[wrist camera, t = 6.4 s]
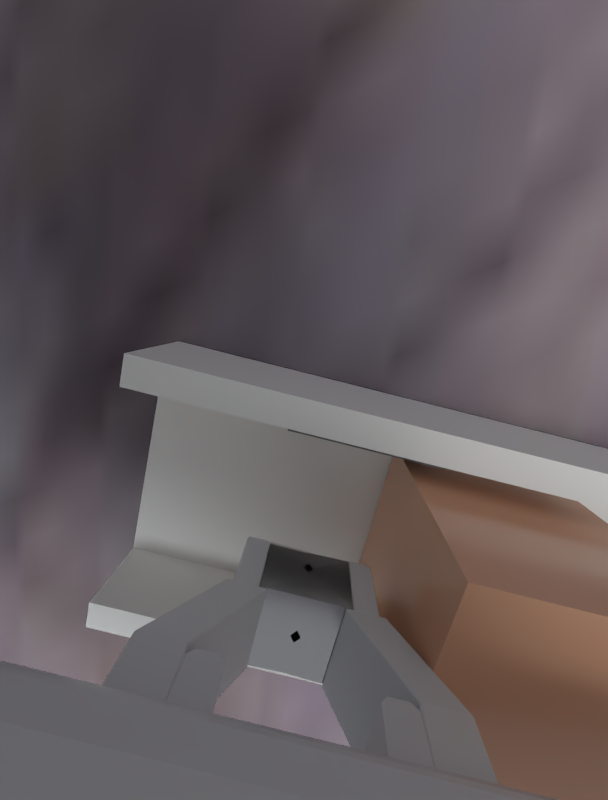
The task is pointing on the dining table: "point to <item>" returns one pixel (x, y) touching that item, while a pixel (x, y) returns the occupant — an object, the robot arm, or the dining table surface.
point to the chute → (293, 470)
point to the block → (503, 616)
